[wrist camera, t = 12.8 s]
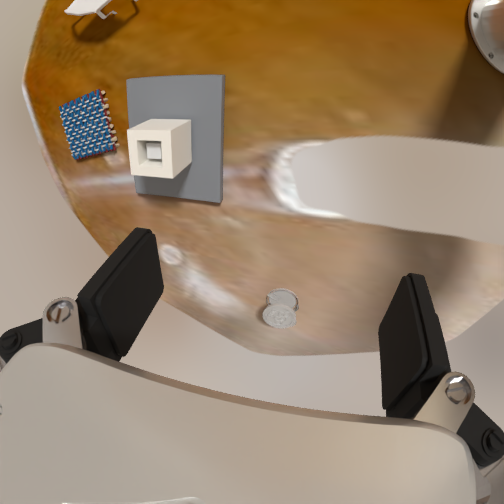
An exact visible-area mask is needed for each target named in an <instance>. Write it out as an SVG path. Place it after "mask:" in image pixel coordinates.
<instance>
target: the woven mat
mask: <svg viewBox="0 0 504 504" xmlns="http://www.w3.org/2000/svg"><path fill="white" fill-rule="evenodd" d="M104 93H105V91H104V90H103V91H101V90H100V89H98V90H95V94H94V91H93V92H91V93H89V94H85V95H84V96H82V97H81V98H82V99H81V100H80V97H79V98H77V99H75V100H74V101H73V100H72V101H71V102H68V105H67V103H66V104H63V105H62V106H63V108H61V106H59V110H60V111H61V112H60V114H61V116H60V117H62V120H63V124H62V126H64V127H65V128H64V129H66V131H64V132H65V133H66V134H67V136H66V137H68V139H67V141H69V144H70V148H69V149H71V150H72V151H71V152H73V154H72V155H73V158H74V159H77V160H79V157H80V159H82V157H84V159H85V158H87V157H89V155H90V157H92V155H93V156H94V155H95V154H96V155H98V153H99V154H101V153H102V152H103V151H104V152H105V153H106V152H109V150H111V151H113V150H116V147H118V146H120V145H119V144H115V141H117V137H114V135H113V134H115V133H116V130H113V131H111V128H113V126H114V125H113V124H109V122H110V121H111V117H108V116H107V115H108V114H110V113H109V111H107V108H109V106H108V104H105V103H104V102H106V101H108V98H105V99H103V97H102V95H104ZM87 96H88V97H87ZM74 102H75V103H74ZM89 102H90V103H89ZM101 104H102V105H101ZM82 105H83V106H82ZM80 112H82V113H80ZM89 116H90V117H89ZM78 119H79V120H78ZM82 119H83V120H82ZM101 119H102V120H101ZM90 121H91V122H90ZM66 124H67V125H66ZM70 124H71V125H70ZM80 124H81V125H80ZM81 126H82V127H81ZM68 131H69V132H68ZM101 133H102V134H101ZM70 137H71V138H70ZM81 139H82V140H81ZM103 139H104V140H103ZM79 146H80V147H79ZM73 148H74V149H73ZM82 152H83V153H82Z"/></svg>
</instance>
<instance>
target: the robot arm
mask: <svg viewBox="0 0 504 504" xmlns="http://www.w3.org/2000/svg"><path fill="white" fill-rule="evenodd" d="M473 15H474V16H473ZM468 22H469V27H470V31H471V34H472V37H473V40H474V42H475V44H476V46H477V47H478V49H479V51H480V52H481V54H482V55H483V57H484V58H485V59H486V60H487V61H488V62H489V64H491V65H492V66H493V67H494V68H495V69H497V70H498V71H500V72H501V73H503V74H504V0H471V2H470V5H469V9H468ZM488 54H489V55H488ZM163 289H164V285H163V279H162V273H161V268H160V262H159V255H158V249H157V243H156V237H155V234H152V231H151V230H150V229H145V228H138V227H137V228H135V229H134V230H133V231H132V232H131V233H130V234H129V235H128V237H127V238H126V239H125V240H124V241H123V242H122V243H121V244H120V245H119V246H118V248H117V249H116V250H115V251H114V252H113V253H112V254H111V255H110V257H109V258H108V259H107V260H106V261H105V263H104V264H103V265H102V266H101V267H100V268H99V269H98V271H97V272H96V273H95V274H94V275H93V276H92V278H91V279H90V280H89V281H88V283H87V284H86V285H85V286H84V287H83V289H82V290H81V291H80V292H79V293H78V295H77V296H78V298H77V299H76V300H75V301H74V300H73V299H71V298H69V297H62V298H58V299H55V300H54V301H52V302H51V303H49V304H48V305H47V307H46V308H45V310H44V312H43V318H41V319H39V320H36V321H33V322H30V323H27V324H24V325H21V326H19V327H16V328H13V329H10V330H8V331H6V332H5V333H4V334H3V335H2V336H1V337H0V504H504V432H503V431H502V430H501V428H500V427H499V426H497V425H496V424H495V423H494V422H493V421H492V420H491V419H490V418H489V417H488V416H487V415H486V414H485V413H484V412H483V411H482V410H481V409H480V408H479V407H478V406H477V405H475V403H473V401H474V398H475V390H474V386H473V384H472V382H471V381H470V379H468V377H467V376H465V375H464V374H462V373H459V372H451V369H450V363H449V360H448V354H447V350H446V346H445V341H444V337H443V333H442V329H441V326H440V322H439V318H438V316H437V314H436V313H435V310H434V307H433V303H432V300H431V296H430V293H429V290H428V287H427V283H426V280H425V277H424V276H423V275H419V274H413V273H409V274H408V275H407V276H403V277H402V279H401V281H400V284H399V286H398V288H397V290H396V293H395V295H394V297H393V299H392V301H391V303H390V305H389V308H388V310H387V312H386V314H385V316H384V318H383V320H382V322H381V324H380V326H379V332H378V335H379V347H380V360H381V381H382V407H383V409H386V417H380V416H367V415H356V414H347V413H338V412H329V411H321V410H312V409H306V408H299V407H293V406H287V405H281V404H275V403H270V402H264V401H259V400H254V399H249V398H245V397H240V396H235V395H231V394H227V393H222V392H218V391H214V390H210V389H206V388H202V387H198V386H195V385H191V384H187V383H184V382H180V381H177V380H173V379H170V378H166V377H163V376H160V375H157V374H154V373H150V372H147V371H144V370H141V369H138V368H135V367H132V366H130V365H127V364H124V363H121V362H119V361H120V359H121V357H122V356H123V357H124V356H126V354H127V353H128V351H129V350H130V348H131V346H132V344H133V343H134V341H135V339H136V337H137V336H138V334H139V332H140V330H141V329H142V327H143V325H144V324H145V322H146V320H147V318H148V317H149V315H150V313H151V312H152V310H153V308H154V307H155V305H156V303H157V302H158V300H159V298H160V297H161V295H162V293H163Z"/></svg>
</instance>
